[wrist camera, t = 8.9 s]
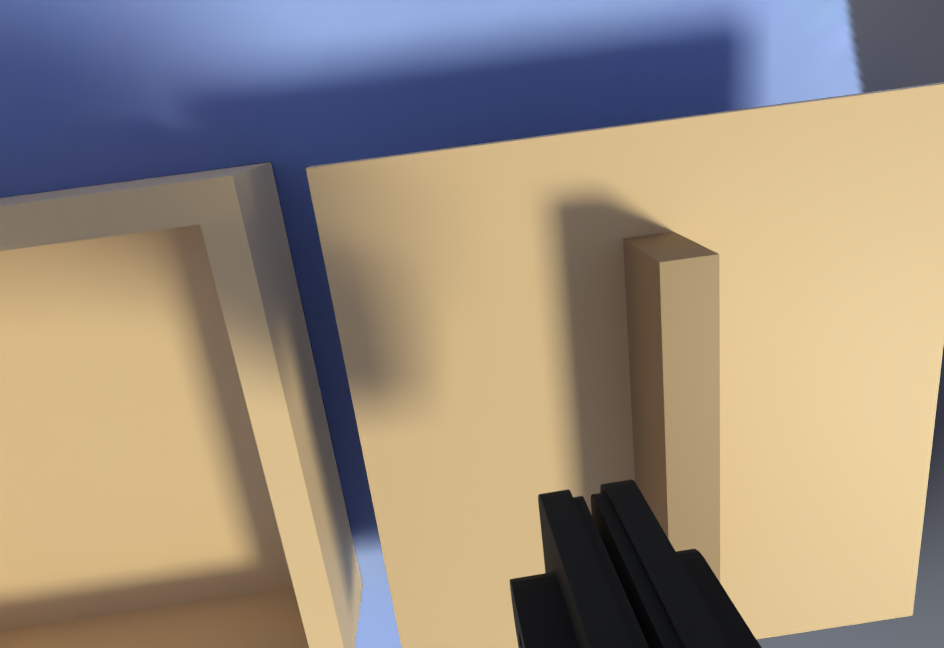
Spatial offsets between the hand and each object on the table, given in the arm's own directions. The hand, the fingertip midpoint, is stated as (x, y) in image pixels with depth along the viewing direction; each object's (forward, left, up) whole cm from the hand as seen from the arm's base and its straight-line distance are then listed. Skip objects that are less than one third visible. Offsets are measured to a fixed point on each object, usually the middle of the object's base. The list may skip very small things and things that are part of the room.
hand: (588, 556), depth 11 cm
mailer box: (+1, -14, -10) cm, 17 cm away
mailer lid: (+1, +3, -6) cm, 7 cm away
